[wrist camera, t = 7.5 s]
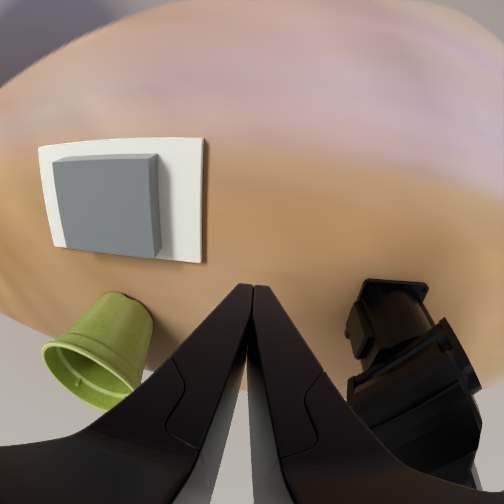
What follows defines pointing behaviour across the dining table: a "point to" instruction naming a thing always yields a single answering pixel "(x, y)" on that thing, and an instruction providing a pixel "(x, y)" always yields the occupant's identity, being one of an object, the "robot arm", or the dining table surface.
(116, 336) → the plant pot
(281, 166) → the dining table surface
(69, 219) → the slate tile
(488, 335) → the dining table surface
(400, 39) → the dining table surface
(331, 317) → the dining table surface
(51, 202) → the white rectangular board
